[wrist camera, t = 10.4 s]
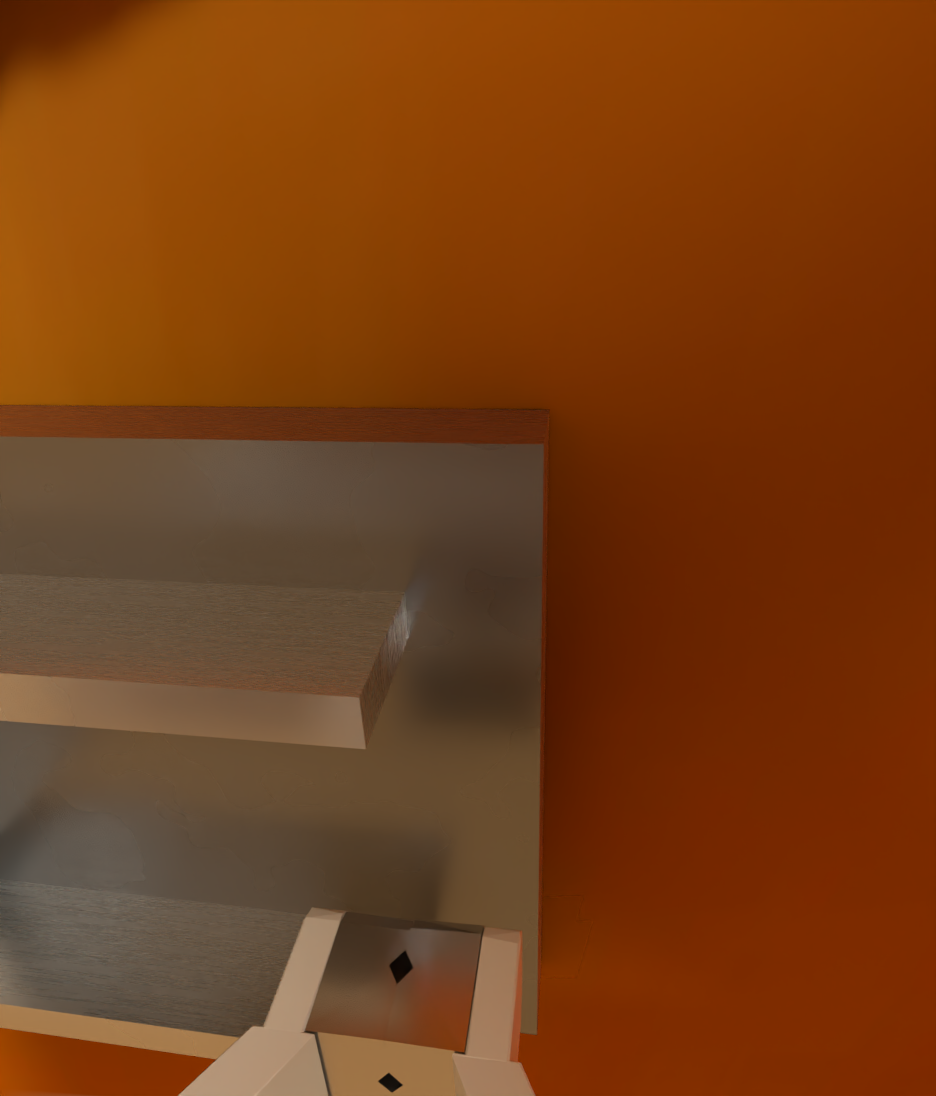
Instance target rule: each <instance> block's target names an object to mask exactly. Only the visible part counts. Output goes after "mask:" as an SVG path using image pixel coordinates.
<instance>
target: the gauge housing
mask: <svg viewBox="0 0 936 1096" xmlns="http://www.w3.org/2000/svg"><path fill="white" fill-rule="evenodd" d="M548 477H549V410H538V409H413V408H288V407H163V406H39V405H0V1028H6V1029H13V1030H20V1031H27V1032H34V1033H40V1034H47V1035H54V1036H61V1037H68V1038H74V1039H81V1040H88V1041H95V1042H102V1043H108V1044H115V1045H122V1046H129V1047H136V1048H143V1049H149V1050H156V1051H163V1052H170V1053H177V1054H183V1055H190V1056H197V1057H204V1058H211V1059H217V1058H218V1057H219V1056H221V1055H222V1054H223V1053H224V1052H225V1051H226V1050H227V1049H228V1048H229V1047H230V1046H231V1045H232V1044H233V1043H234V1042H235V1041H236V1040H238V1039H239V1038H240V1037H241V1036H242V1035H243V1034H244V1033H245V1032H246V1031H247V1030H248V1029H249V1028H250V1027H251V1026H252V1025H256V1026H263V1025H264V1023H265V1020H266V1017H267V1015H268V1012H269V1010H270V1007H271V1004H272V1002H273V999H274V996H275V994H276V991H277V989H278V986H279V983H280V981H281V978H282V975H283V973H284V970H285V968H286V965H287V962H288V960H289V957H290V954H291V952H292V949H293V947H294V944H295V941H296V939H297V936H298V933H299V931H300V928H301V926H302V923H303V920H304V918H305V917H306V915H307V914H308V913H309V911H310V910H311V908H312V907H314V908H324V909H333V910H343V911H348V912H355V913H363V914H371V915H379V916H387V917H396V918H404V919H412V920H415V919H420V920H431V921H441V922H452V923H463V924H474V925H484V926H485V927H492V928H503V929H513V930H522V1005H521V1028H520V1033H526V1034H533V1035H537V1025H538V1009H539V993H540V977H541V944H542V877H543V810H544V744H545V677H546V610H547V543H548Z"/></svg>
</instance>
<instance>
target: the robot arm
mask: <svg viewBox="0 0 936 1096" xmlns="http://www.w3.org/2000/svg"><path fill="white" fill-rule="evenodd" d="M521 1005H522V930H513V929H503V928H492V927H485V926H484V925H474V924H463V923H452V922H441V921H431V920H420V919H415V920H412V919H404V918H396V917H387V916H379V915H371V914H363V913H355V912H348V911H343V910H333V909H324V908H314V907H312V908H311V910H310V911H309V913H308V914H307V915H306V917H305V918H304V920H303V923H302V926H301V928H300V931H299V933H298V936H297V939H296V941H295V944H294V947H293V949H292V952H291V954H290V957H289V960H288V962H287V965H286V968H285V970H284V973H283V975H282V978H281V981H280V983H279V986H278V989H277V991H276V994H275V996H274V999H273V1002H272V1004H271V1007H270V1010H269V1012H268V1015H267V1017H266V1020H265V1023H264V1025H263V1026H256V1025H252V1026H251V1027H250V1028H249V1029H248V1030H247V1031H246V1032H245V1033H244V1034H243V1035H242V1036H241V1037H240V1038H239V1039H238V1040H236V1041H235V1042H234V1043H233V1044H232V1045H231V1046H230V1047H229V1048H228V1049H227V1050H226V1051H225V1052H224V1053H223V1054H222V1055H221V1056H219V1057H218V1058H217V1059H216V1060H215V1061H214V1062H213V1063H212V1064H211V1065H210V1066H209V1067H208V1068H207V1069H206V1070H205V1071H203V1072H202V1073H201V1074H200V1075H199V1076H198V1077H197V1078H196V1079H195V1080H194V1081H193V1082H192V1083H191V1084H190V1085H189V1086H187V1087H186V1088H185V1089H184V1090H183V1091H182V1092H181V1093H180V1094H179V1095H178V1096H535V1093H534V1091H533V1089H532V1087H531V1084H530V1082H529V1080H528V1078H527V1075H526V1073H525V1071H524V1068H523V1066H522V1064H521V1063H520V1062H518V1053H519V1040H520V1028H521Z"/></svg>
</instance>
